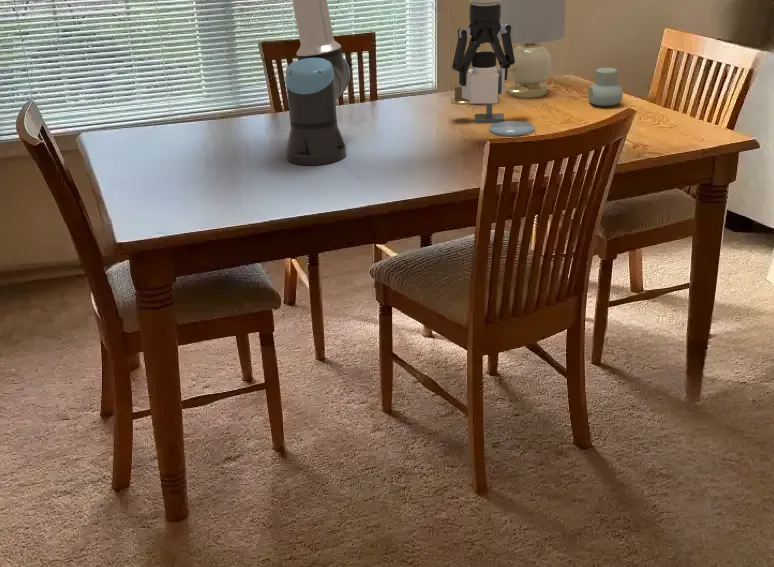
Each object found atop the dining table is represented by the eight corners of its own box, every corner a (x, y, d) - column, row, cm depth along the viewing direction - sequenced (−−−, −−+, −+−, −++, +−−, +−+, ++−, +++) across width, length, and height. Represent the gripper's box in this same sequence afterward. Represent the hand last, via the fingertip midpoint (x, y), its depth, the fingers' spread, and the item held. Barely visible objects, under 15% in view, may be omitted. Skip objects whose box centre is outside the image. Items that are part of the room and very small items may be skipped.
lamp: (576, 95, 261) (581, -29, 245) (520, 105, 253) (523, -21, 237) (536, 83, 277) (539, -34, 261) (483, 92, 269) (483, -27, 254)
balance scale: (450, 123, 239) (449, 69, 232) (451, 117, 245) (450, 64, 238) (528, 122, 236) (529, 67, 230) (527, 116, 242) (528, 62, 235)
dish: (503, 139, 223) (503, 136, 223) (481, 128, 233) (481, 125, 233) (543, 131, 227) (543, 128, 227) (519, 121, 237) (519, 118, 237)
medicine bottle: (498, 103, 215) (500, 54, 209) (469, 104, 215) (470, 55, 210) (495, 96, 221) (497, 48, 216) (467, 97, 221) (468, 49, 216)
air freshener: (623, 108, 244) (626, 73, 240) (594, 109, 245) (596, 74, 240) (614, 99, 254) (616, 64, 250) (586, 100, 254) (588, 66, 250)
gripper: (452, 9, 201) (451, 104, 210) (532, 1, 208) (528, 93, 218) (437, 5, 207) (437, 97, 217) (516, -3, 214) (512, 87, 224)
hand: (482, 95), depth 217 cm, fingers closed on medicine bottle, 9 cm apart
